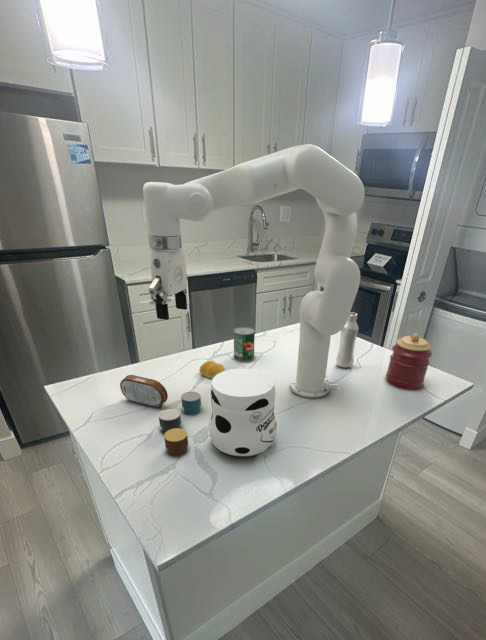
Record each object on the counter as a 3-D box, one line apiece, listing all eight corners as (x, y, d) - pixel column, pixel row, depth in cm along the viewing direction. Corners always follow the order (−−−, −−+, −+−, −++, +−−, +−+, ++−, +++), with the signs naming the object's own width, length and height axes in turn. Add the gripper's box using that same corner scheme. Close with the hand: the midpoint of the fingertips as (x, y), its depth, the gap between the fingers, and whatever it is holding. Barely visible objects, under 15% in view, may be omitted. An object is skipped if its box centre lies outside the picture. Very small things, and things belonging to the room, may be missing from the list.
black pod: (185, 425, 105) (183, 410, 102) (175, 436, 100) (173, 421, 97) (167, 422, 106) (165, 407, 103) (156, 432, 101) (154, 417, 98)
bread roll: (213, 381, 128) (213, 370, 125) (196, 373, 132) (195, 363, 130) (230, 373, 133) (230, 363, 131) (213, 366, 137) (212, 356, 135)
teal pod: (204, 407, 113) (203, 393, 111) (196, 416, 109) (195, 402, 106) (187, 404, 114) (186, 390, 112) (179, 413, 110) (177, 398, 107)
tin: (169, 405, 113) (166, 380, 108) (164, 410, 111) (160, 385, 106) (127, 396, 117) (122, 371, 112) (121, 400, 114) (115, 376, 110)
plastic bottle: (355, 365, 143) (364, 313, 132) (348, 371, 138) (357, 317, 127) (339, 361, 146) (347, 309, 135) (332, 366, 141) (339, 314, 130)
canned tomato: (236, 353, 149) (236, 326, 143) (255, 354, 148) (256, 327, 142) (231, 361, 142) (231, 333, 136) (252, 363, 141) (252, 334, 135)
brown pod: (192, 445, 97) (190, 430, 94) (182, 458, 92) (180, 443, 90) (172, 441, 98) (170, 426, 95) (162, 454, 93) (159, 438, 91)
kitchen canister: (409, 394, 125) (423, 344, 116) (377, 380, 133) (388, 332, 124) (429, 383, 133) (444, 335, 123) (398, 370, 141) (409, 324, 131)
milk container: (284, 457, 94) (289, 394, 84) (216, 468, 90) (212, 403, 80) (266, 421, 108) (268, 363, 98) (206, 428, 104) (201, 369, 94)
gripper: (160, 249, 83) (168, 325, 92) (195, 240, 96) (200, 307, 106) (130, 246, 84) (142, 321, 94) (169, 237, 98) (176, 303, 108)
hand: (172, 313), depth 100 cm, fingers open, 9 cm apart
